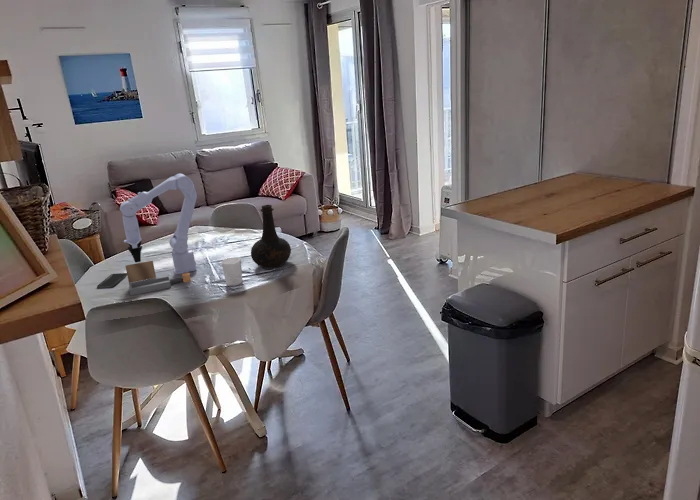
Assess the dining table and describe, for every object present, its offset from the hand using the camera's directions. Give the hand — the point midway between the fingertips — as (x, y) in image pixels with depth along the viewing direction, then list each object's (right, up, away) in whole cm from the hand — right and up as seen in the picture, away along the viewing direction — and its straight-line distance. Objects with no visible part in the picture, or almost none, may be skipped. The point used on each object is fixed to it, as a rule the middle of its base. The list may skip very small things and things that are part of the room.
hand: (137, 259), depth 222 cm
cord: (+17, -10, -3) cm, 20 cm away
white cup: (+44, -10, -7) cm, 46 cm away
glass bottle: (+57, -3, +11) cm, 59 cm away
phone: (-13, -10, +4) cm, 17 cm away
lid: (+4, -5, -5) cm, 8 cm away
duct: (+8, -12, -6) cm, 16 cm away
